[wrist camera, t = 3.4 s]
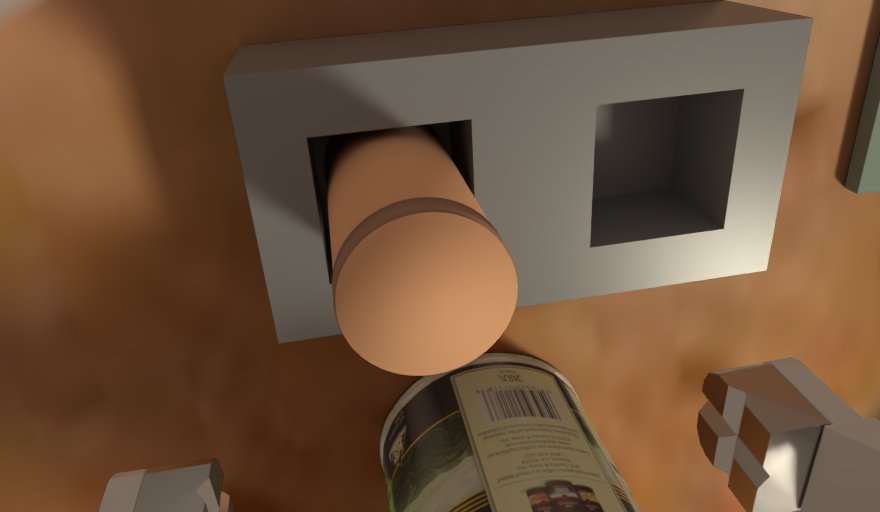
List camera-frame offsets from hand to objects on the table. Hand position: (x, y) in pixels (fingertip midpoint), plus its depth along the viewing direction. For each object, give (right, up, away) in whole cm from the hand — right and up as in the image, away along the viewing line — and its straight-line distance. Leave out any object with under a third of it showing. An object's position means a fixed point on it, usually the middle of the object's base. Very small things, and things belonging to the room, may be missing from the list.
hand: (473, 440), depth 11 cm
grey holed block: (+2, +7, +15) cm, 17 cm away
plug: (-3, +6, +14) cm, 15 cm away
